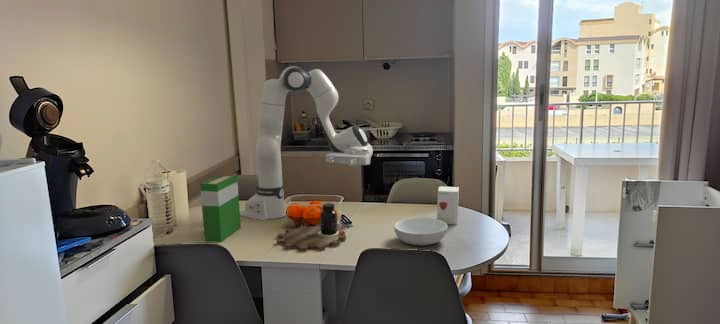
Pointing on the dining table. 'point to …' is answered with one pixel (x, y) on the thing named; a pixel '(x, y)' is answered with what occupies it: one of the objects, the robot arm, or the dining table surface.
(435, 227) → the serving bowl
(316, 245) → the sprocket wheel
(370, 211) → the dining table surface
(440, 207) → the supplement box
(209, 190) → the green cereal box
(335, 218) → the supplement bottle
